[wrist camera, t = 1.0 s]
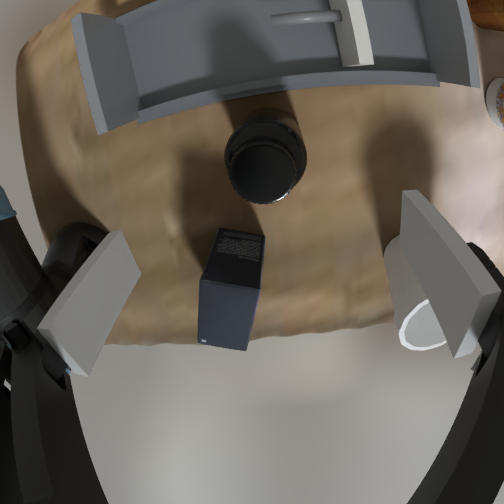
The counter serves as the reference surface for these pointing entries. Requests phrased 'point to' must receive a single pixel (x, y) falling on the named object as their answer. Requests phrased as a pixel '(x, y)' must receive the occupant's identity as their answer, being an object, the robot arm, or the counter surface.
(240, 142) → the supplement bottle
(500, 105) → the bath foam
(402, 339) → the foam cup
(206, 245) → the counter surface
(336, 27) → the pusher
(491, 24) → the disposable coffee cup
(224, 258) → the small box
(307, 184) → the counter surface
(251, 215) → the counter surface
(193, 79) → the tray
